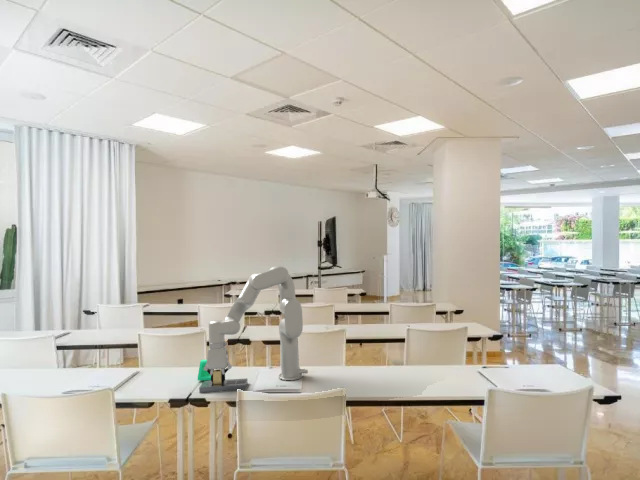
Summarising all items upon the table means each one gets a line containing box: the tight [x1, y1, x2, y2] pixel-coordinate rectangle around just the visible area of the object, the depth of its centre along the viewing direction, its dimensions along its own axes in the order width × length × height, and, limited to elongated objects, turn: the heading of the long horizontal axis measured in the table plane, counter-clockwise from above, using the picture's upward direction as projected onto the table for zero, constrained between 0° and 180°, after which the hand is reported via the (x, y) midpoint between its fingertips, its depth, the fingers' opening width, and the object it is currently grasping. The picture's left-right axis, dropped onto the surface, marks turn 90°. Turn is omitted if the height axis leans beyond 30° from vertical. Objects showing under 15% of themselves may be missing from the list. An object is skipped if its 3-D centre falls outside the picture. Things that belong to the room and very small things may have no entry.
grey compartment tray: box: [198, 377, 249, 394], centre depth 194 cm, size 22×10×3 cm, turn 94°
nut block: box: [213, 369, 223, 385], centre depth 194 cm, size 4×4×7 cm
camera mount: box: [197, 359, 211, 381], centre depth 210 cm, size 12×8×10 cm, turn 176°
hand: (218, 381), depth 194 cm, fingers closed on nut block, 4 cm apart
